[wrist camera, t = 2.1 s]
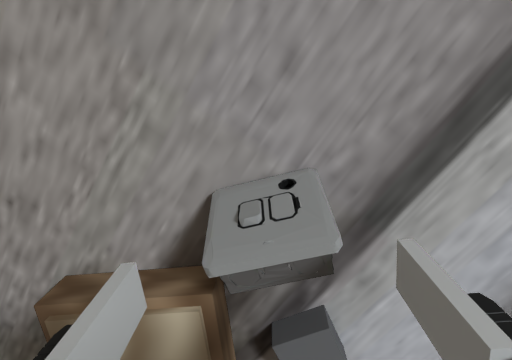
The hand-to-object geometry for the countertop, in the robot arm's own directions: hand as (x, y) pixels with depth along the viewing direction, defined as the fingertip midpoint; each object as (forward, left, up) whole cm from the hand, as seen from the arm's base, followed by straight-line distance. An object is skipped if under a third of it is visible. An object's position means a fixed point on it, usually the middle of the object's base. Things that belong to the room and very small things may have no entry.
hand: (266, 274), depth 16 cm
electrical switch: (0, 0, -10) cm, 10 cm away
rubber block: (-2, +13, -10) cm, 17 cm away
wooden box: (+12, +12, -10) cm, 19 cm away
